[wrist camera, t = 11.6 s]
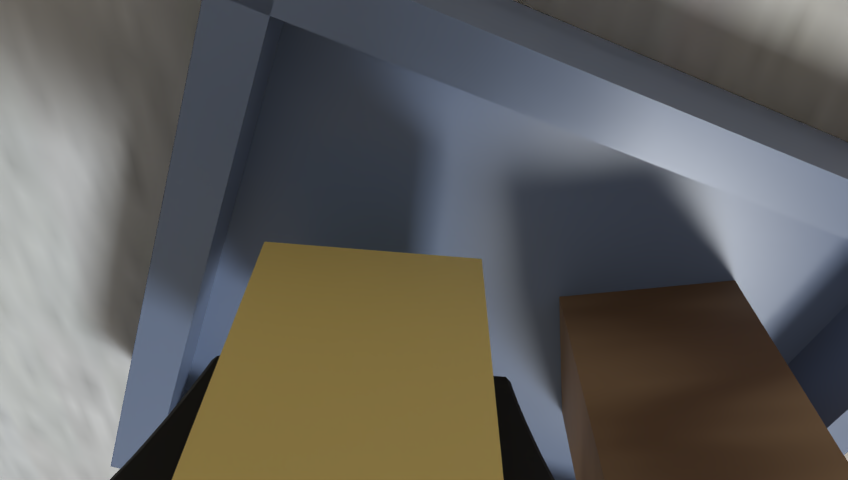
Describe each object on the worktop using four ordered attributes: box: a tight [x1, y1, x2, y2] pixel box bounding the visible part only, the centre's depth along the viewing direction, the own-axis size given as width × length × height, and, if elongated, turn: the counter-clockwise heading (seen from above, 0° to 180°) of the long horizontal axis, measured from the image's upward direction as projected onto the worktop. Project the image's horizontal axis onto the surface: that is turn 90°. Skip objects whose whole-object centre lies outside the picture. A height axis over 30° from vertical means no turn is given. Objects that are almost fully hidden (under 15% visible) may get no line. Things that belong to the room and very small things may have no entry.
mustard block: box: [172, 242, 504, 480], centre depth 11 cm, size 4×4×6 cm
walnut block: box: [559, 280, 848, 480], centre depth 14 cm, size 4×4×6 cm
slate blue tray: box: [111, 0, 848, 480], centre depth 15 cm, size 16×13×3 cm
